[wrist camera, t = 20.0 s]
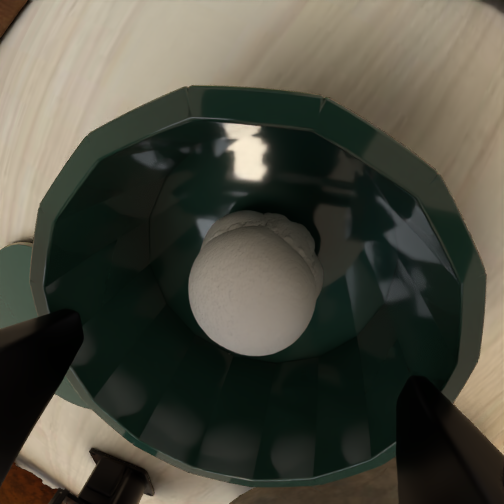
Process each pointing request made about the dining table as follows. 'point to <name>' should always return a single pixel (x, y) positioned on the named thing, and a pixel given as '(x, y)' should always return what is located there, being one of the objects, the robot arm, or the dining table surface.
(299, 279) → the microfossil shell
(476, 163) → the dining table surface
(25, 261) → the pot lid
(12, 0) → the sculpture
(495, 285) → the dining table surface
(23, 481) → the clay pot
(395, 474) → the bowl
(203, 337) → the pot
